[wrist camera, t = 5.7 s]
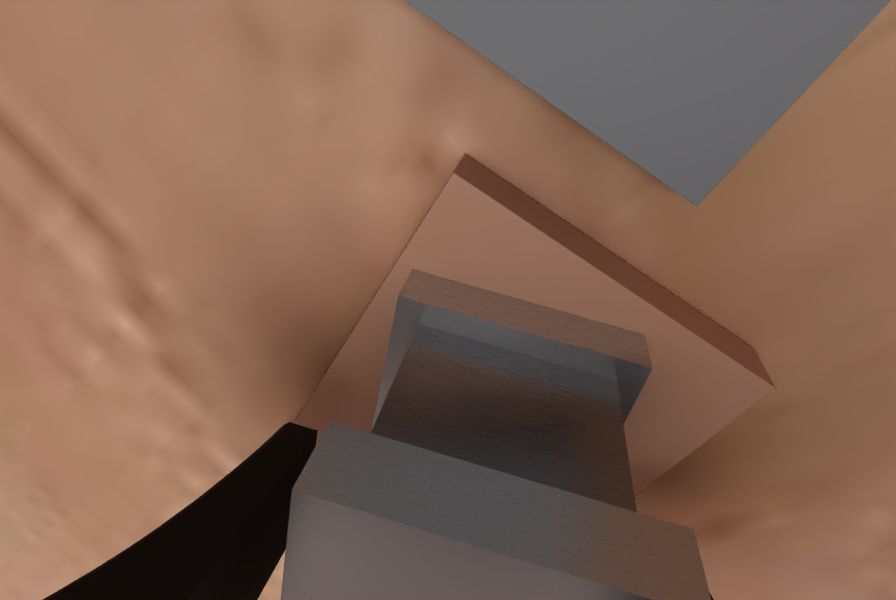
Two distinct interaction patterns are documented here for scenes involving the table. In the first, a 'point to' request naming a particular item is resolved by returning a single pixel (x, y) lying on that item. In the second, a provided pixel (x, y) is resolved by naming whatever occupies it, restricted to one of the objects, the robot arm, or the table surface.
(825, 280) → the table surface
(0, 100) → the table surface
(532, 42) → the stand
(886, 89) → the table surface
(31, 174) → the table surface
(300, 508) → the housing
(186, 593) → the robot arm
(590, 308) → the stand
